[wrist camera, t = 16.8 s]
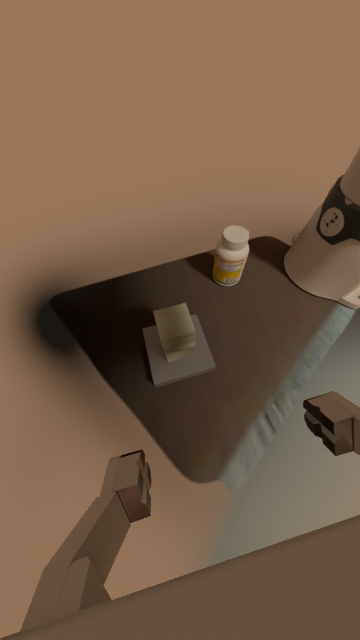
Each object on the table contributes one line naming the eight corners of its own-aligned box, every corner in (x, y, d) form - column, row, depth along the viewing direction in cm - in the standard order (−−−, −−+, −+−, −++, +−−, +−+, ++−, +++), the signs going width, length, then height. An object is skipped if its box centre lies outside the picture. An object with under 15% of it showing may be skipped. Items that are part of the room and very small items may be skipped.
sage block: (186, 331, 31) (185, 302, 24) (194, 354, 29) (195, 331, 22) (161, 338, 30) (153, 311, 23) (168, 362, 29) (160, 341, 22)
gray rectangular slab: (196, 320, 34) (196, 314, 32) (214, 370, 30) (216, 366, 28) (144, 333, 33) (142, 328, 31) (156, 387, 29) (154, 385, 27)
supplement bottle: (229, 292, 36) (241, 251, 28) (206, 277, 38) (210, 235, 30) (245, 274, 38) (261, 231, 30) (222, 261, 40) (231, 217, 32)
